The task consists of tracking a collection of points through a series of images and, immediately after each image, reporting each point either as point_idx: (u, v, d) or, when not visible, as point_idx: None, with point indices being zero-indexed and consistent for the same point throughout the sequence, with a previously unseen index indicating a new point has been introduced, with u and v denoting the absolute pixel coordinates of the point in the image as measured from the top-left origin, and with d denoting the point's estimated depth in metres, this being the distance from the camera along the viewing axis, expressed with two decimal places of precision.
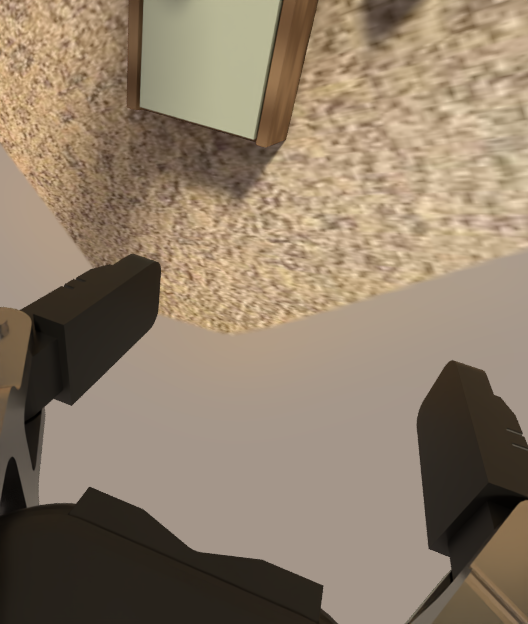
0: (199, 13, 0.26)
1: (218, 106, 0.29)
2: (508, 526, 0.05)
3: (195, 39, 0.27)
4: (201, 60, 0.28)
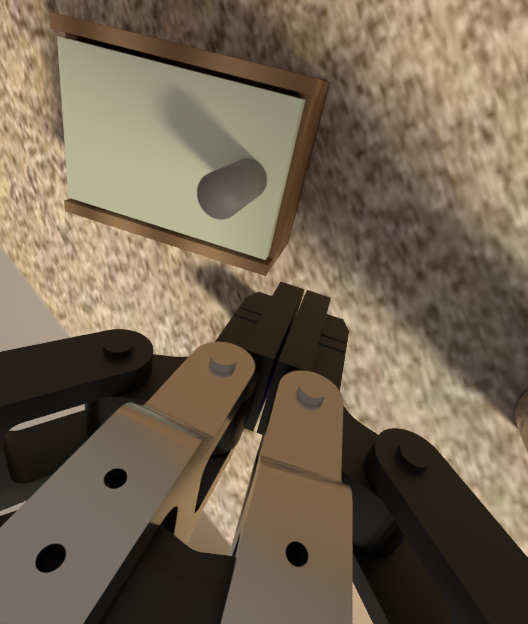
0: (157, 142, 0.24)
1: (85, 157, 0.26)
2: (277, 404, 0.06)
3: (135, 135, 0.24)
4: (118, 139, 0.24)
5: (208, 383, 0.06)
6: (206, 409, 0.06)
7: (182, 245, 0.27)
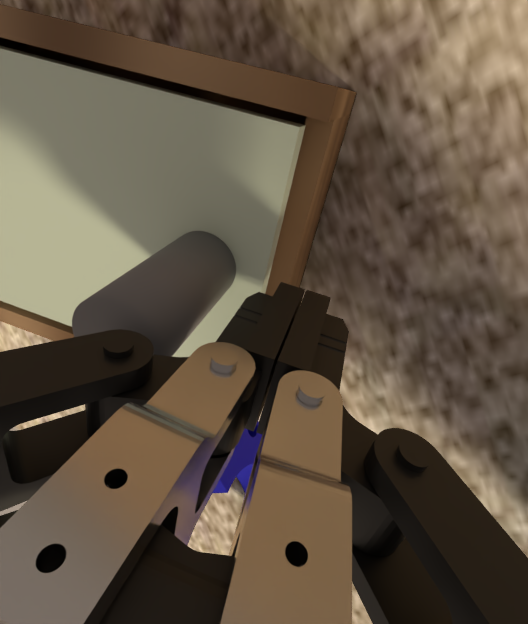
0: (43, 198, 0.14)
1: None
2: (276, 404, 0.06)
3: (7, 184, 0.14)
4: None
5: (209, 383, 0.06)
6: (207, 409, 0.06)
7: None
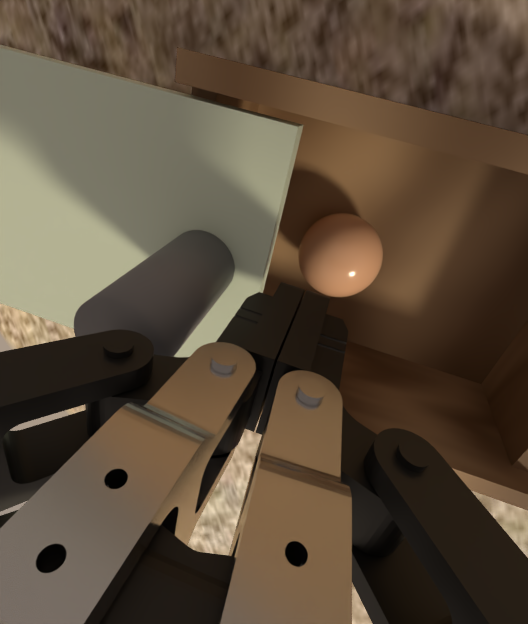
0: (39, 197, 0.13)
1: None
2: (276, 404, 0.06)
3: (1, 183, 0.14)
4: None
5: (209, 383, 0.06)
6: (207, 409, 0.06)
7: None
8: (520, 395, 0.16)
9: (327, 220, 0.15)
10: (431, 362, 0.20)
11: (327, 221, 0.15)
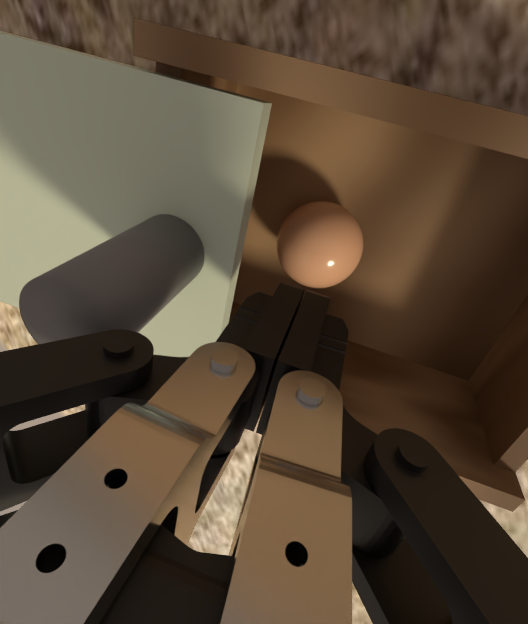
0: (5, 180, 0.13)
1: None
2: (276, 404, 0.06)
3: None
4: None
5: (209, 383, 0.06)
6: (207, 409, 0.06)
7: None
8: (505, 392, 0.16)
9: (305, 208, 0.15)
10: (417, 357, 0.19)
11: (305, 208, 0.15)
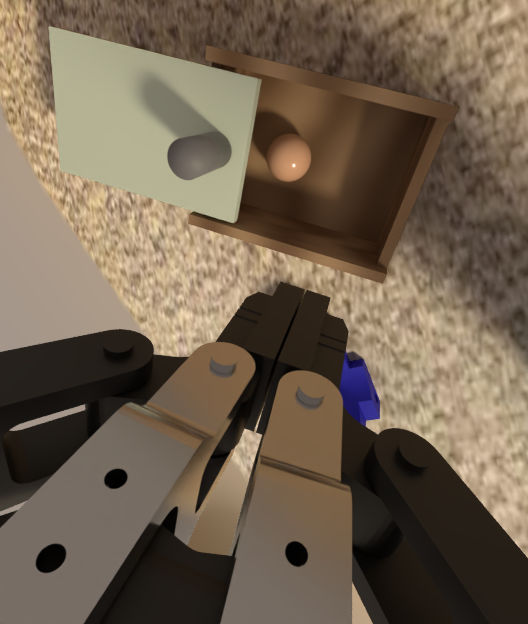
0: (136, 119, 0.27)
1: (74, 134, 0.29)
2: (277, 404, 0.06)
3: (118, 112, 0.28)
4: (103, 117, 0.28)
5: (209, 383, 0.06)
6: (206, 409, 0.06)
7: (303, 255, 0.29)
8: (385, 233, 0.30)
9: (280, 136, 0.29)
10: (348, 230, 0.34)
11: (280, 136, 0.29)
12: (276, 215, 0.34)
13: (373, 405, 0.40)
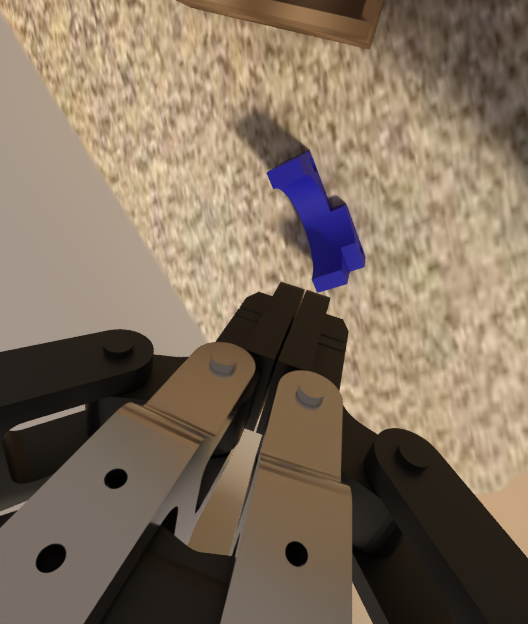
0: None
1: None
2: (276, 404, 0.06)
3: None
4: None
5: (208, 383, 0.06)
6: (207, 409, 0.06)
7: (276, 11, 0.26)
8: None
9: None
10: None
11: None
12: None
13: (357, 250, 0.36)
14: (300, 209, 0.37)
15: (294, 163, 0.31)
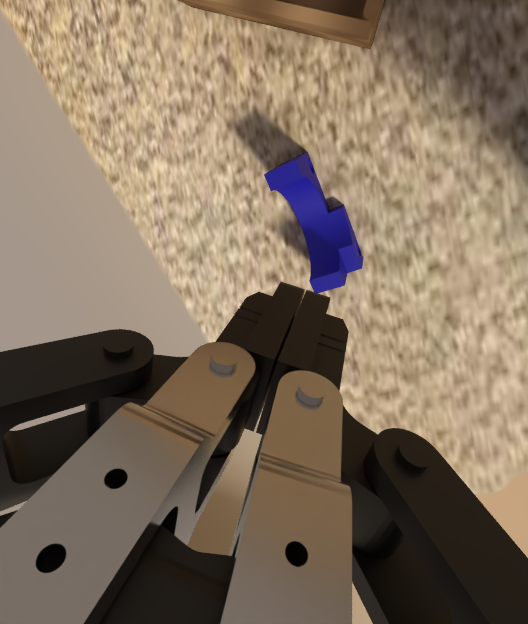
0: None
1: None
2: (277, 404, 0.06)
3: None
4: None
5: (209, 383, 0.06)
6: (207, 409, 0.06)
7: (277, 10, 0.26)
8: None
9: None
10: None
11: None
12: None
13: (354, 251, 0.37)
14: (298, 211, 0.37)
15: (291, 165, 0.31)
